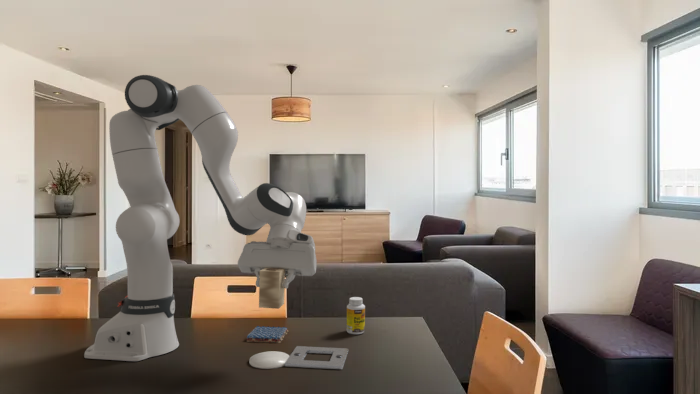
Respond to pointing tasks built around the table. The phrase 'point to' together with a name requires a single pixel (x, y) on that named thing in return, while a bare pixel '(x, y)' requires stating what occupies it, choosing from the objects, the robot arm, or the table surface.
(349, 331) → the supplement bottle
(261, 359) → the pad
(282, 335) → the woven mat
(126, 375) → the table surface
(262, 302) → the block
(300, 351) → the rail plate
